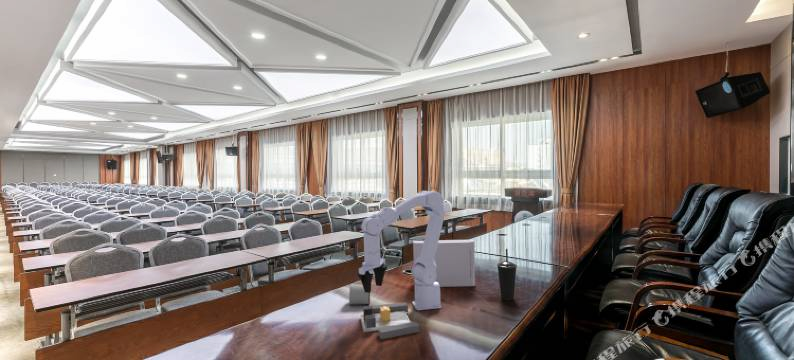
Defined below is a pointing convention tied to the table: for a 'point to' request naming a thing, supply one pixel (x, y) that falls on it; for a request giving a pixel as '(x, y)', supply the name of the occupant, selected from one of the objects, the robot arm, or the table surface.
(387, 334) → the duct
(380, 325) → the panel
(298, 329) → the table surface
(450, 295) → the table surface
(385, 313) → the orange l block
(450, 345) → the table surface
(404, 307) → the duct
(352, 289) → the gray rounded block
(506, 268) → the drinking cup
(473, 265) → the game console
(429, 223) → the robot arm
